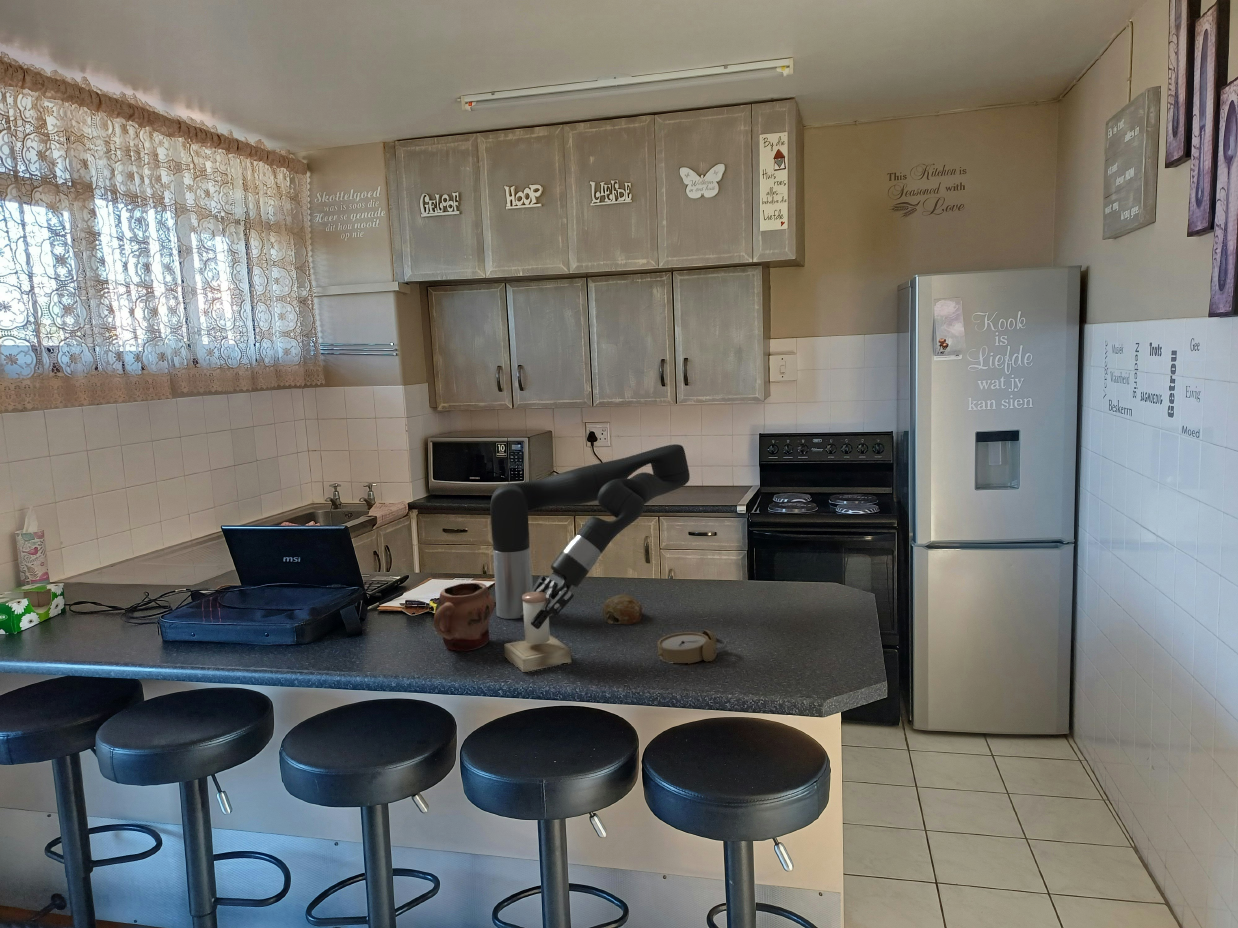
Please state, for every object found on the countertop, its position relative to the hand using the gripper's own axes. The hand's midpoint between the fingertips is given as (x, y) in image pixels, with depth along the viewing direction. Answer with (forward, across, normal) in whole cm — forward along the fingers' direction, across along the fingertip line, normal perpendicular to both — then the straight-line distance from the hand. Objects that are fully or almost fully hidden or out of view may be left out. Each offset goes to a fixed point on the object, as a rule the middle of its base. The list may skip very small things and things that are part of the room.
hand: (528, 622), depth 181 cm
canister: (+2, 0, -4) cm, 5 cm away
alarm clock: (-15, -16, -29) cm, 36 cm away
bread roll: (-15, +15, -28) cm, 35 cm away
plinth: (+5, 0, -7) cm, 9 cm away
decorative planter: (+13, +16, 0) cm, 21 cm away
